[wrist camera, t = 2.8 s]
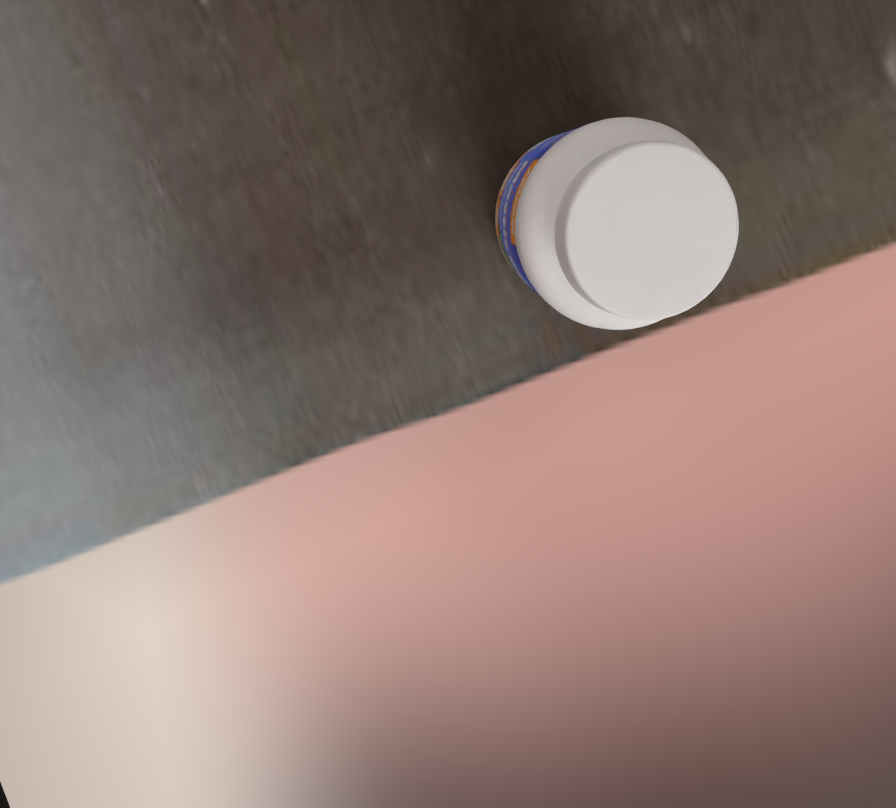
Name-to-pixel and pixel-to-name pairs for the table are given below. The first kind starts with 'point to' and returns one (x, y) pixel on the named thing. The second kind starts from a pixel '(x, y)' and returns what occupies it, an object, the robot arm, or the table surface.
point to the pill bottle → (618, 222)
